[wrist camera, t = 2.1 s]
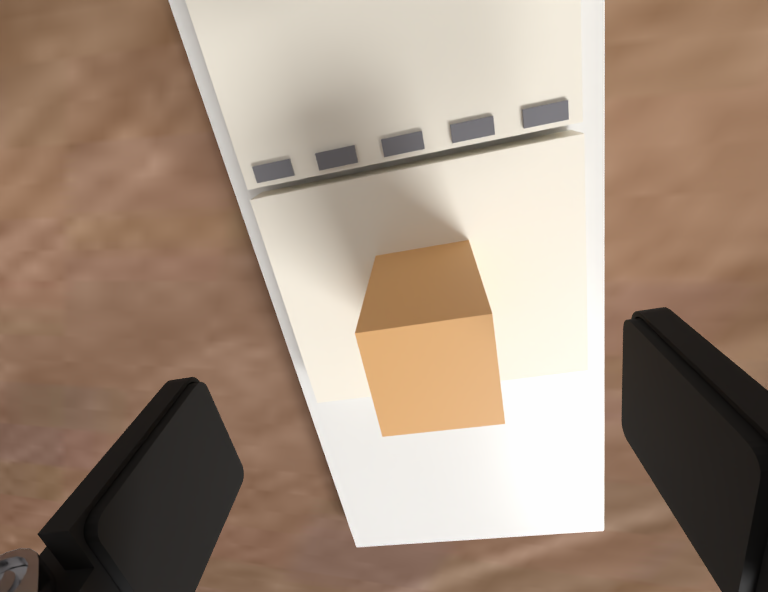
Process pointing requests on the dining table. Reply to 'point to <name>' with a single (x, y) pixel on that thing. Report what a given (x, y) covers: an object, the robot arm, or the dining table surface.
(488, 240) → the stub
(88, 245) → the dining table surface
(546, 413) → the board
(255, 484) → the dining table surface
